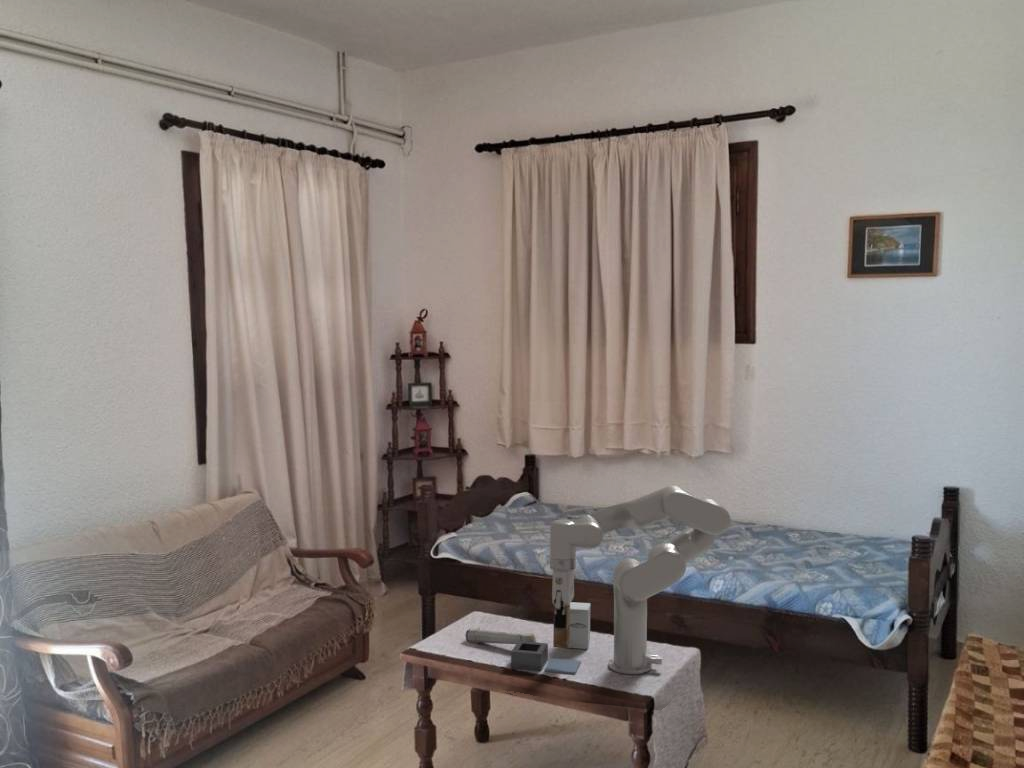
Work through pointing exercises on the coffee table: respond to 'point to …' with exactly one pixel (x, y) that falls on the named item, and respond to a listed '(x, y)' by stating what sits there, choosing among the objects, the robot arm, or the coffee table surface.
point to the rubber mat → (562, 666)
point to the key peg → (562, 631)
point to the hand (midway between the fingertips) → (561, 624)
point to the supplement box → (579, 625)
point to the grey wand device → (497, 637)
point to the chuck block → (529, 655)
